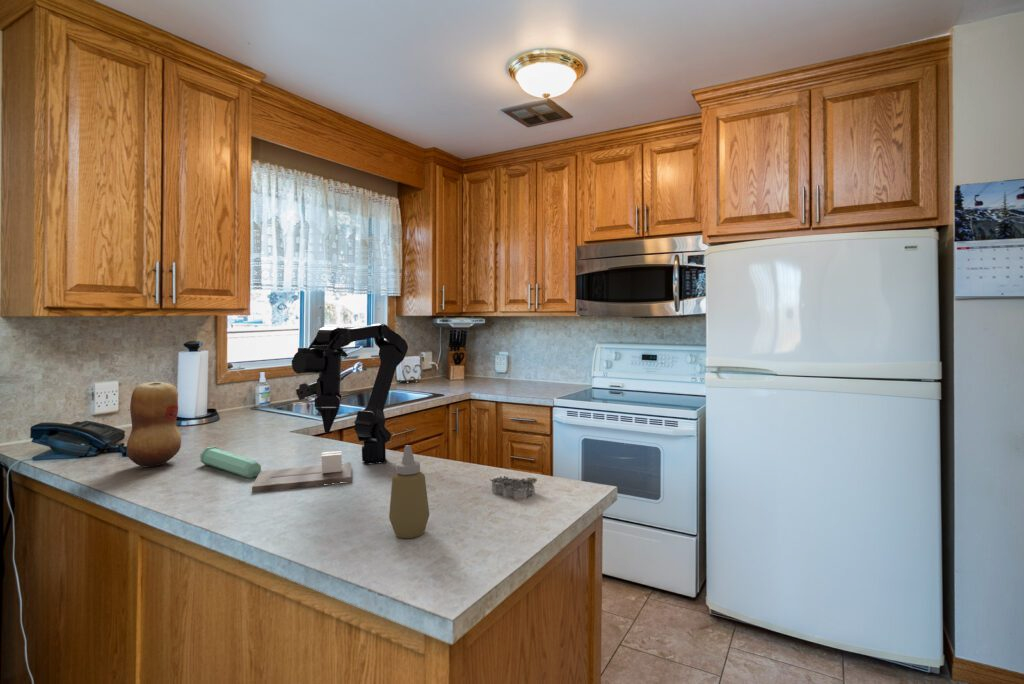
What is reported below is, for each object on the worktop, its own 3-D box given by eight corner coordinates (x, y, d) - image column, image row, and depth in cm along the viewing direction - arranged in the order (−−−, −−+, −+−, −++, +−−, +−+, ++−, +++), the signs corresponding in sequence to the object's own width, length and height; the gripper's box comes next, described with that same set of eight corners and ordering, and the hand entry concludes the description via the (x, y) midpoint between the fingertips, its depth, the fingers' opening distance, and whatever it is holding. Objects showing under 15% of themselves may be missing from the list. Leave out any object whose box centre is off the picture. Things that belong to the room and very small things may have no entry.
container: (260, 455, 146) (215, 442, 160) (241, 468, 141) (196, 453, 155) (268, 472, 148) (223, 458, 162) (250, 485, 144) (204, 469, 158)
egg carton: (539, 494, 130) (539, 478, 129) (519, 503, 124) (519, 486, 124) (507, 485, 137) (507, 470, 136) (487, 493, 131) (486, 476, 131)
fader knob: (341, 467, 147) (341, 450, 147) (341, 471, 144) (341, 454, 143) (322, 469, 146) (322, 452, 146) (322, 473, 142) (321, 455, 142)
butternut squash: (162, 471, 151) (158, 385, 150) (116, 472, 151) (112, 386, 150) (192, 458, 165) (189, 379, 164) (150, 458, 165) (146, 379, 164)
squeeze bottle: (392, 526, 111) (390, 441, 110) (431, 524, 111) (429, 440, 110) (386, 542, 102) (384, 451, 102) (428, 540, 103) (426, 450, 102)
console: (351, 467, 153) (350, 462, 153) (351, 482, 140) (351, 476, 140) (260, 476, 146) (260, 470, 146) (252, 492, 133) (251, 486, 132)
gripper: (301, 371, 151) (299, 425, 151) (294, 374, 133) (292, 436, 133) (342, 371, 154) (340, 424, 154) (340, 375, 136) (338, 435, 136)
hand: (327, 429), depth 144 cm, fingers open, 9 cm apart
